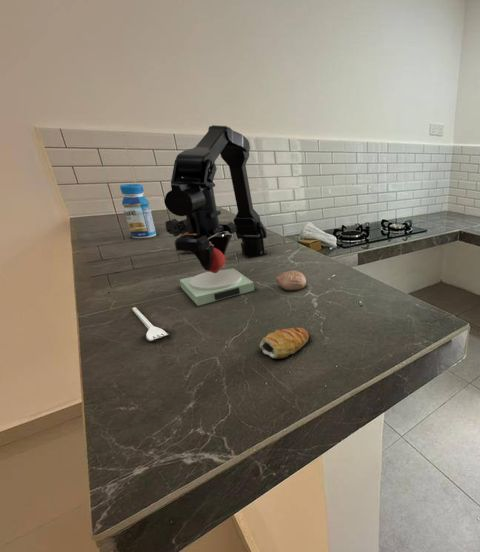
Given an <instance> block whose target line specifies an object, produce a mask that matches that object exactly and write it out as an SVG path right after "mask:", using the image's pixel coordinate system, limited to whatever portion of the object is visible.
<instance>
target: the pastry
mask: <svg viewBox="0 0 480 552" xmlns="http://www.w3.org/2000/svg"><path fill="white" fill-rule="evenodd" d="M309 336H310V335H309V332H308V331H307V330H306V329H305V328H303V327H289V328H282V329H275V330H274V332H269V333H267V335H266V336H264V337H262V340H261V341H260V343H259V349H260V350H261V351H262V353H263V354H264V355H267V356H269V357H270V358H272V359H284V358H288V357H289V356H290V355H294V354H295V353H296V352H298V351H299V350H300V349H301V348H303V347H305V345H306V343H307V342H308V341H309Z"/></svg>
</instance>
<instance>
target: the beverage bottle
mask: <svg viewBox="0 0 480 552" xmlns="http://www.w3.org/2000/svg"><path fill="white" fill-rule="evenodd" d="M119 188H120V192H121V194H122V195H123V198H122V201H121V204H122V206H123V213H124V214H125V219H126V221H127V225H128V229H129V231H130V233H129V234H130V236H131V238H133V239H149V238H153V237H156V236H157V230H156V228H155V222H154V219H153V214H152V208H151V207H150V205H149V204H150V202H149V200H148V198H146V197H145V196H144V195H145V191H144V186H143V185H142V184H139V183H127V184H121V185H120V186H119Z"/></svg>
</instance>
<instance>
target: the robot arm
mask: <svg viewBox="0 0 480 552" xmlns="http://www.w3.org/2000/svg"><path fill="white" fill-rule="evenodd" d="M250 145H251V144H250V142H249V140H248V138H247V137H246V136H245V135H244V134H242V133H240V132H238V131H235V130H233V129H232V128H231V127H230V126H227V125H215V124H213V125H209V127H208V130H207V132H206V133H205V135H203V137H202V138H201V139H200V140H199V142H197V144H196V145H195V146H194V147H192V148H189V149H185V150H182V151H181V152H180V153H178V154H177V155H176V157H175V160H174V163H173V169H172V175H171V179H170V188H171V189H170V190H169V191H168V192H167V193H166V194H165V196H164V201H163V202H164V205H165V208H166V209H167V211H169V212H170V213H171V214H173V215H175V216H177V217H178V216H179V217H185V218H184V219H181V220H177V219H176V218H173V219H169V220H166V221H164V223H165V231H166V232H167V233H168V234H170V235H173V236H174V237H175V238H176V237H177V238H176V239H175V240H174V241H173V244H174V248H175V251H191V252H193V253H192V254H193V255H194V256H195V257H196V258H197V260H198V261H199V263H200V265H201V264H202V266H203V267H202V266H201V267H202V268H203V269H204V270H205V272H209V270H210V269H211V263H212V256H213V250H214V248H216V249H218V250H220V251H221V252H222V253H223V254H224V255H225V254H226V251H227V249H228V246H229V243H230V241H231V240H232V239H231V238H232V237H233V234H235V235H236V239H237V240H240V239H241V241H240V248H241V254H242V255H244V256H245V257H246V258H254V257H259V256H260V257H261V256H265V255H268V253H267V252H266V251H265V244H264V239H267V234H268V233H267V229H266V227H265V226H264V223H263V222H262V221H261V217H260V214H259V213H258V212H257V211H256V210H255V209H254V206H253V200H252V194H251V189H250V183H249V178H248V172H247V165H246V164H247V162H248V160H249V158H250V150H251V146H250ZM219 156H220V158H221V159H222V160H223V161H224V162H225V164H226V165H227V166H228V168H229V174H230V178H231V185H232V188H233V193H234V199H235V204H236V210H237V212H236V215H235V217H234V218H233V221H223V220H219V216H220V215H222V211H221V210H220V209H217V208H218V207H217V204H216V197H215V196H216V195H215V190H214V188H215V187H216V184H215V182H214V178H215V176H216V173H217V169H218V168H217V165H216V160H217V159H218V158H219ZM185 232H188V234H196V235H184V236H182V237H180V236H179V235H182V233H185ZM227 232H228V233H229V234H228V233H227ZM178 236H179V237H178ZM210 244H213V245H214V246H209V245H210Z"/></svg>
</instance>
